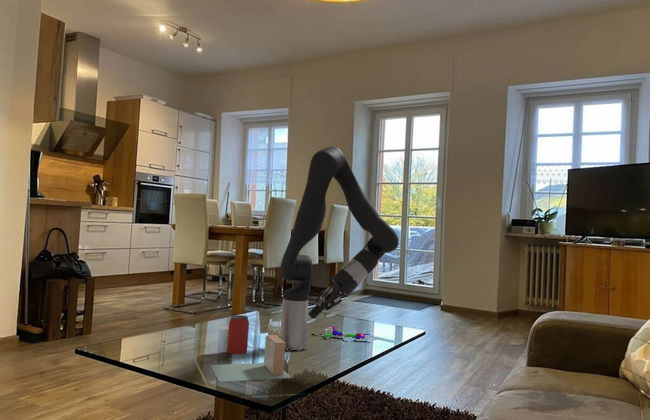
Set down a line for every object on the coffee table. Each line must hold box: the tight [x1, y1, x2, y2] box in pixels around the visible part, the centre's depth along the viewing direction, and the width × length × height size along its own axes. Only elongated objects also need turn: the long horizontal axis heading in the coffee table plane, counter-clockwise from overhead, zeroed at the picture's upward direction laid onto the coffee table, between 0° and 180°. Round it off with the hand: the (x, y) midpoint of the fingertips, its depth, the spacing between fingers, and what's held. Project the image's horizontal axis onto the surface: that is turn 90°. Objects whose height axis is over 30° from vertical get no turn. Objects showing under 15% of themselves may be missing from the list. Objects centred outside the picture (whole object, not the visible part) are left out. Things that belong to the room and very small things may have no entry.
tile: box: [263, 334, 286, 375], centre depth 137 cm, size 3×10×9 cm, turn 22°
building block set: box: [324, 325, 371, 339], centre depth 195 cm, size 25×20×4 cm
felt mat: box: [209, 362, 293, 383], centre depth 134 cm, size 20×16×1 cm
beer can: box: [226, 314, 250, 355], centre depth 156 cm, size 7×7×12 cm
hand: (310, 316), depth 142 cm, fingers closed
